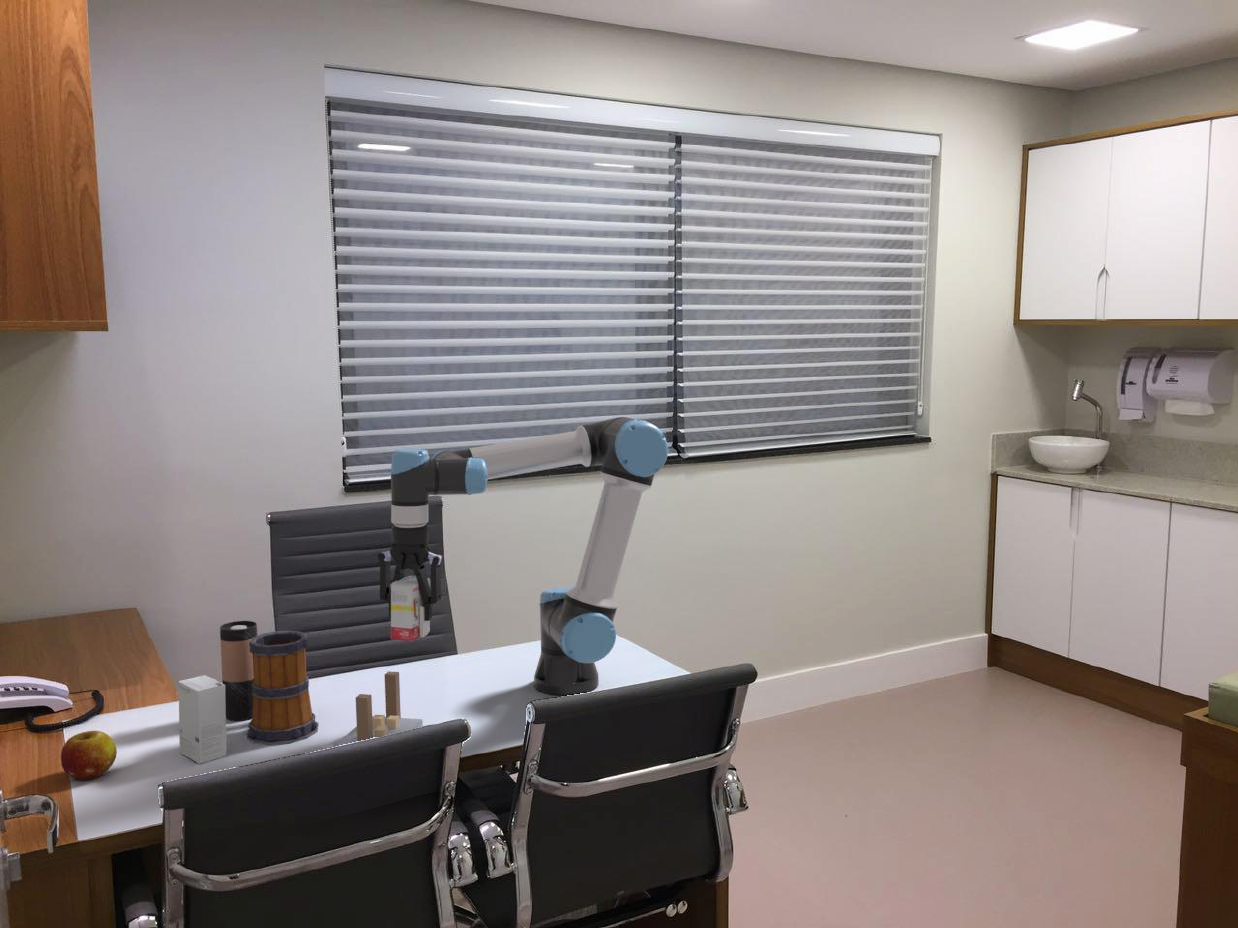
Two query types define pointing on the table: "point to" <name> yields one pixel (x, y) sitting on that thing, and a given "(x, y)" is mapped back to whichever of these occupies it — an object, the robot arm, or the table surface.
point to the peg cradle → (379, 723)
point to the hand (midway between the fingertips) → (410, 634)
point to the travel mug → (238, 668)
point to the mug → (280, 689)
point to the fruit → (88, 755)
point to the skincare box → (202, 718)
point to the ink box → (406, 609)
